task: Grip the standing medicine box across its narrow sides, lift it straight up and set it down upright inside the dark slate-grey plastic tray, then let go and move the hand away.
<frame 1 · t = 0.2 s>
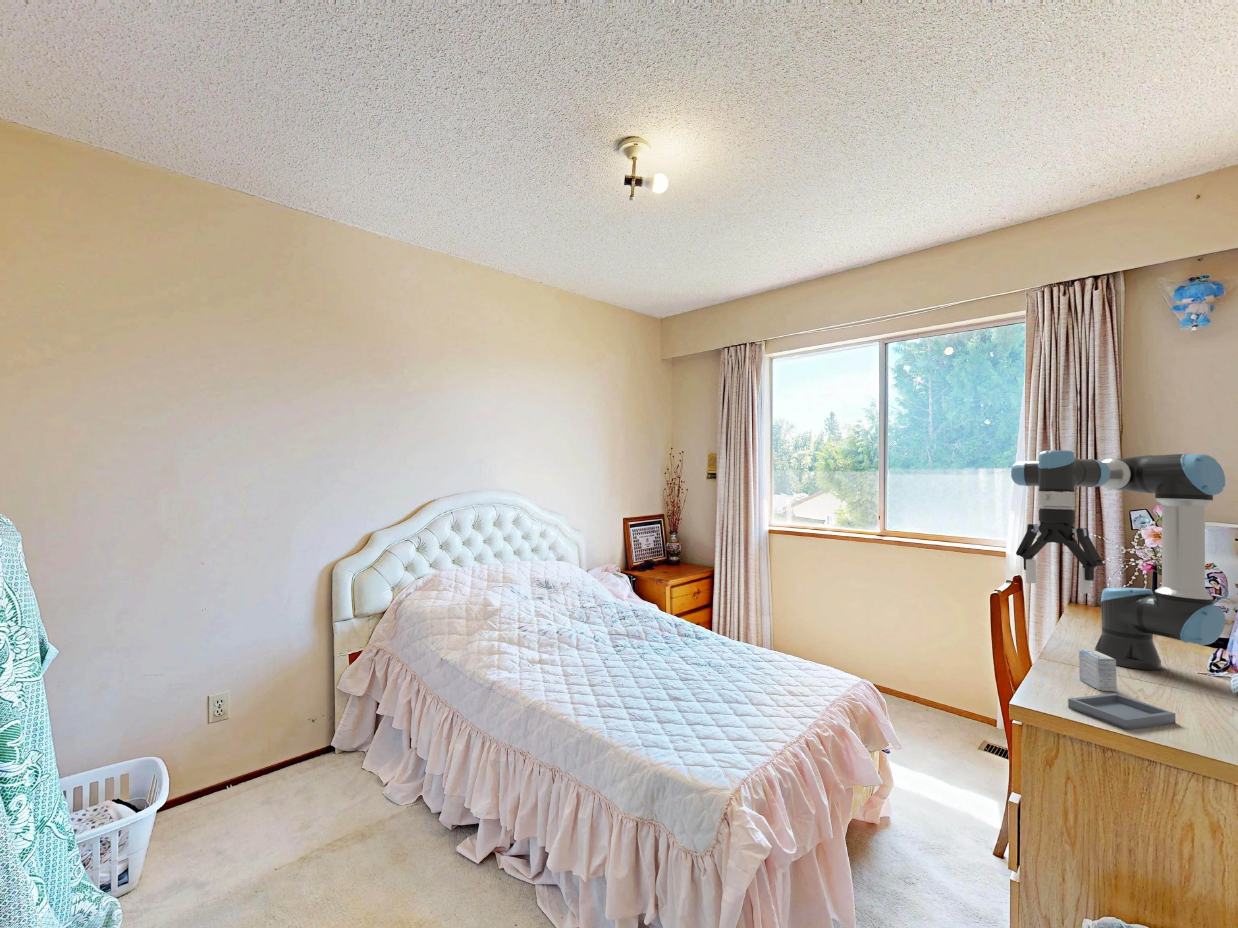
hand: (1056, 587, 142), 27 cm above the table, tool pointing down, fingers open, 13 cm apart
tray: (1120, 714, 126), on the table
medicine box: (1097, 686, 145), on the table
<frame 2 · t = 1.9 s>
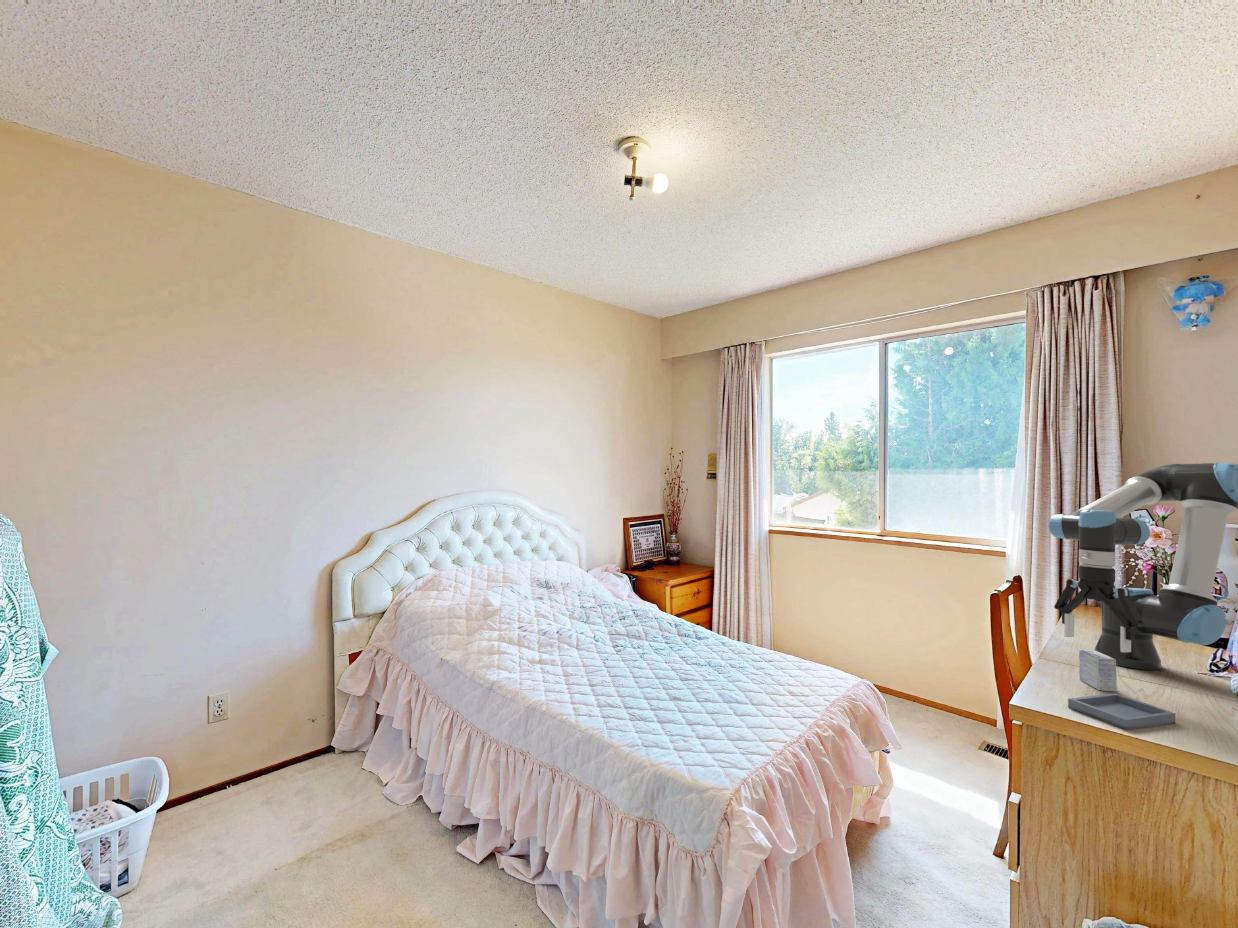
hand: (1096, 643, 145), 11 cm above the table, tool pointing down, fingers open, 13 cm apart
nothing on the table moved.
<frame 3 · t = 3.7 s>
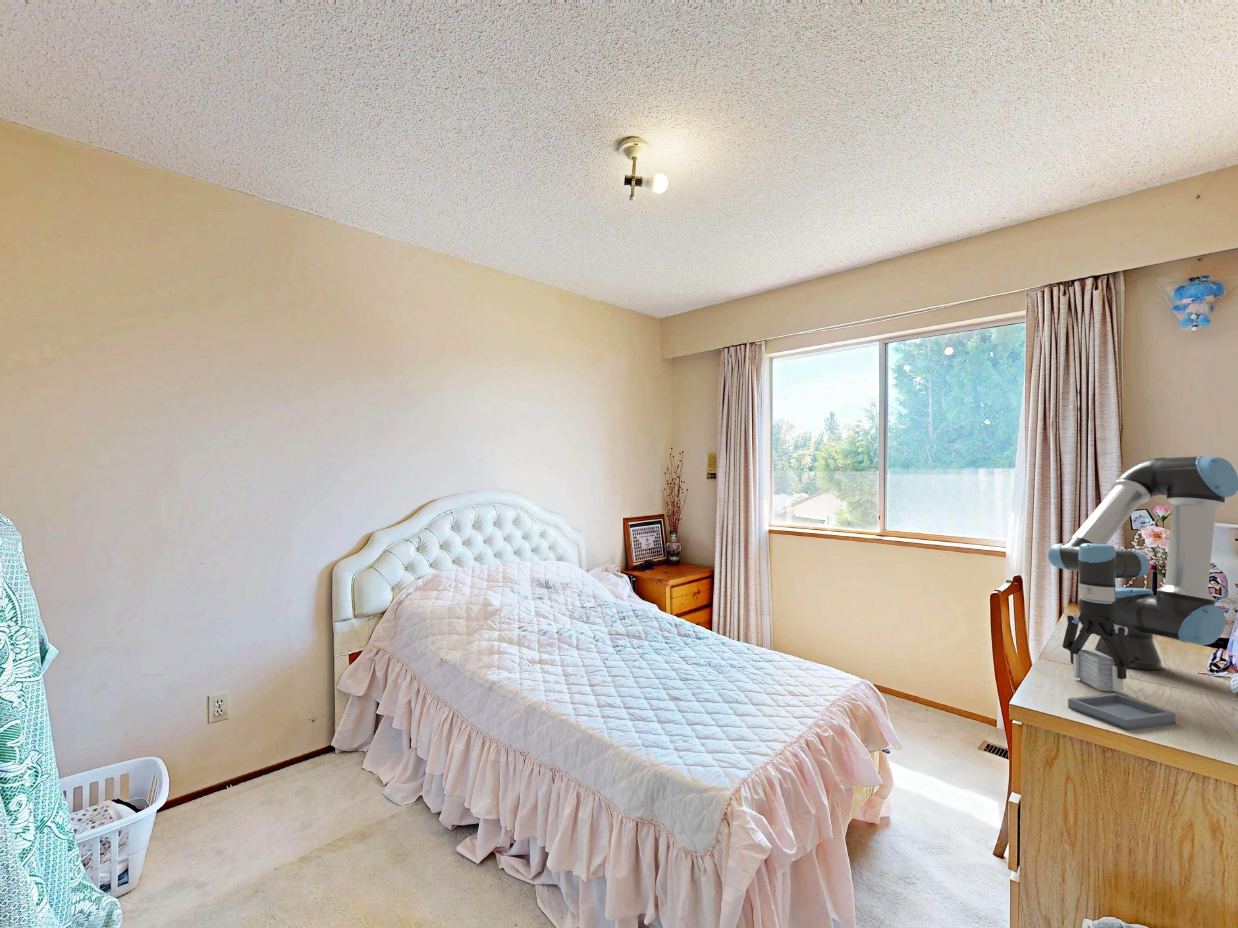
hand: (1097, 683, 145), 1 cm above the table, tool pointing down, fingers closed on medicine box, 9 cm apart
medicine box: (1097, 686, 145), on the table, touching gripper
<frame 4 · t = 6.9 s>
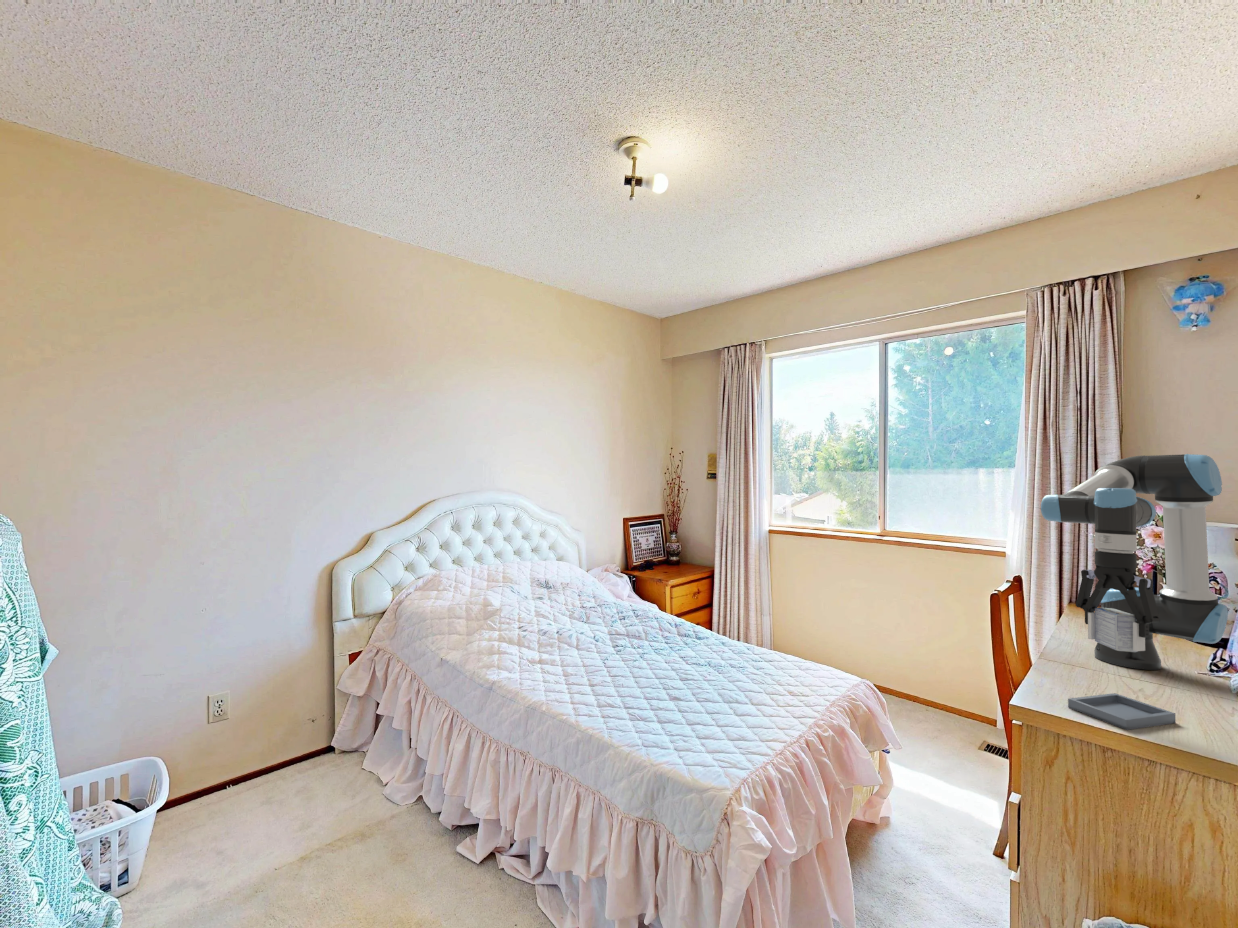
hand: (1115, 644, 129), 16 cm above the table, tool pointing down, fingers closed on medicine box, 9 cm apart
medicine box: (1115, 647, 129), point 15 cm above the table, touching gripper
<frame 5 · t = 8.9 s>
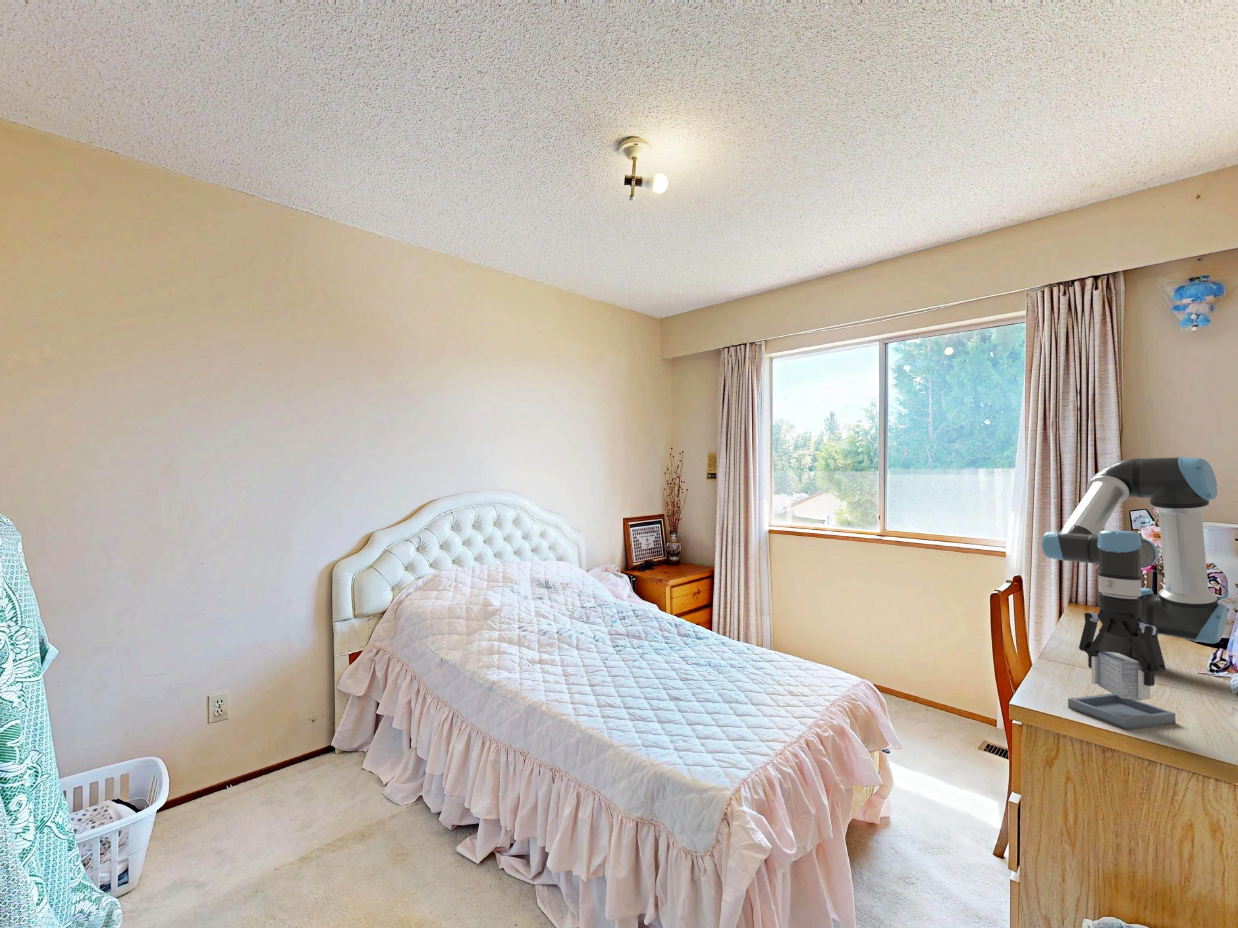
hand: (1120, 690, 126), 6 cm above the table, tool pointing down, fingers closed on medicine box, 9 cm apart
medicine box: (1119, 694, 126), point 5 cm above the table, touching gripper
when the fingers open (4 cm above the table, at t = 10.2 s): medicine box drops 3 cm, resting on tray.
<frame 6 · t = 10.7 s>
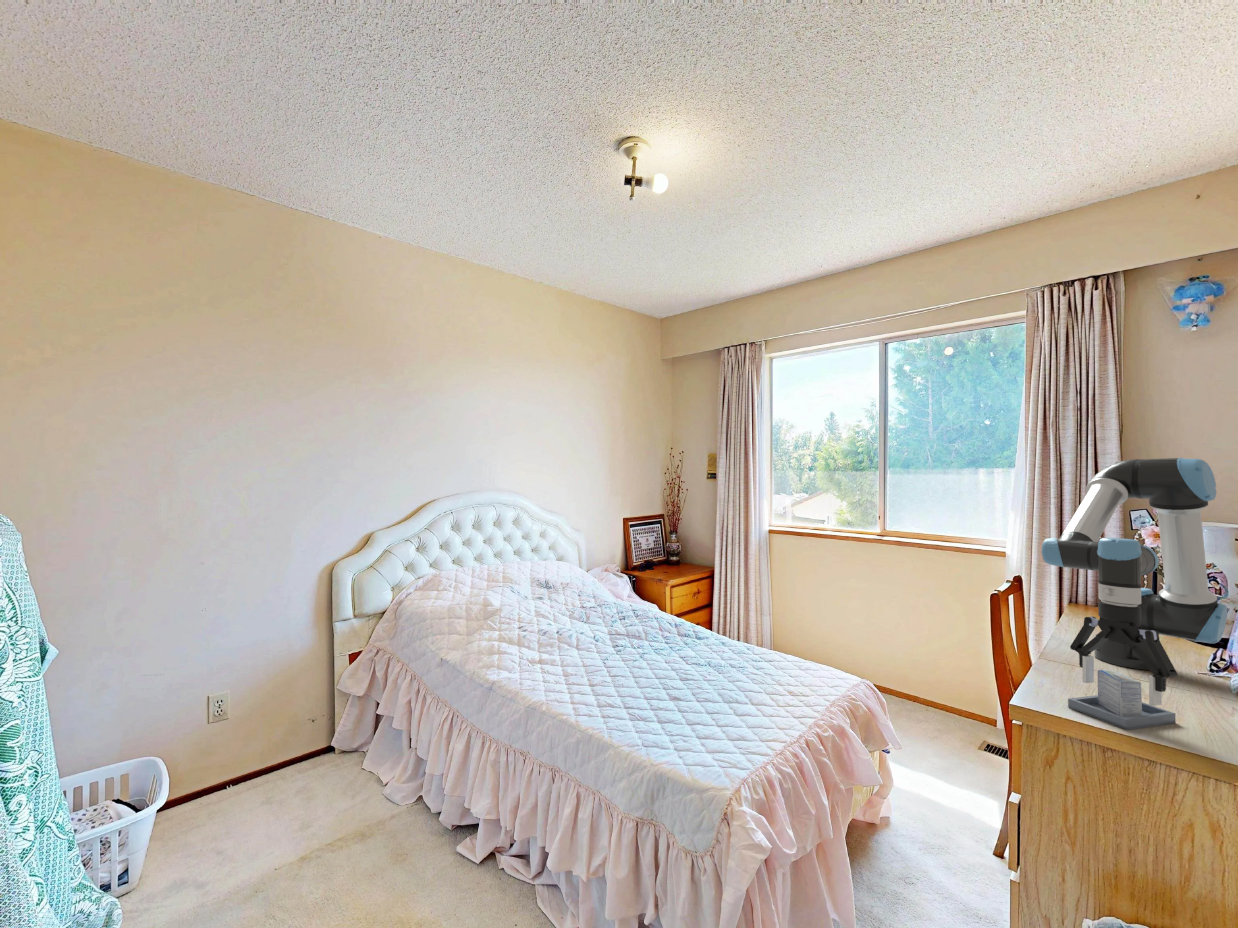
hand: (1120, 692, 126), 5 cm above the table, tool pointing down, fingers open, 13 cm apart
medicine box: (1119, 712, 127), resting on tray
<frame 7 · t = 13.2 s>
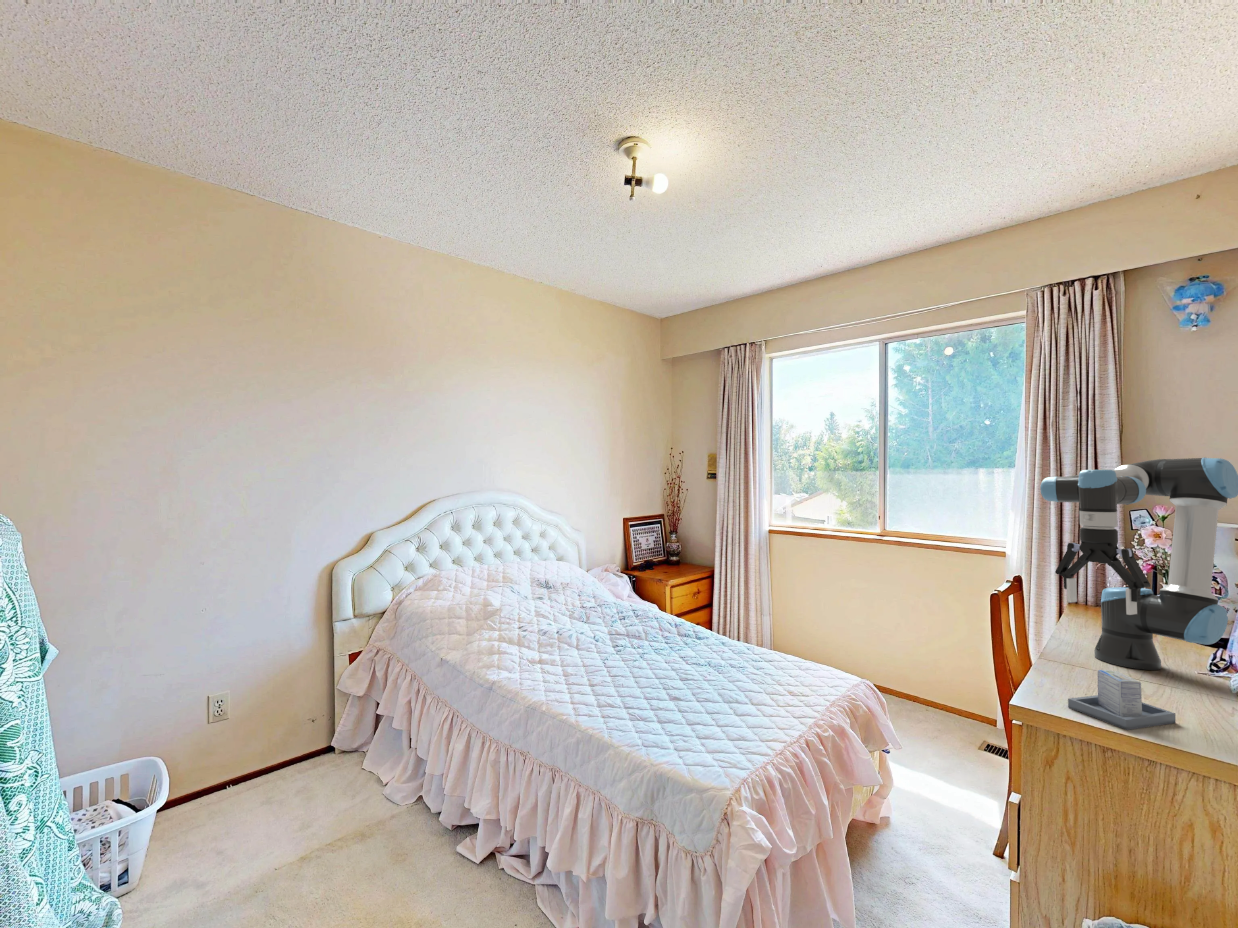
hand: (1100, 607, 141), 22 cm above the table, tool pointing down, fingers open, 13 cm apart
nothing on the table moved.
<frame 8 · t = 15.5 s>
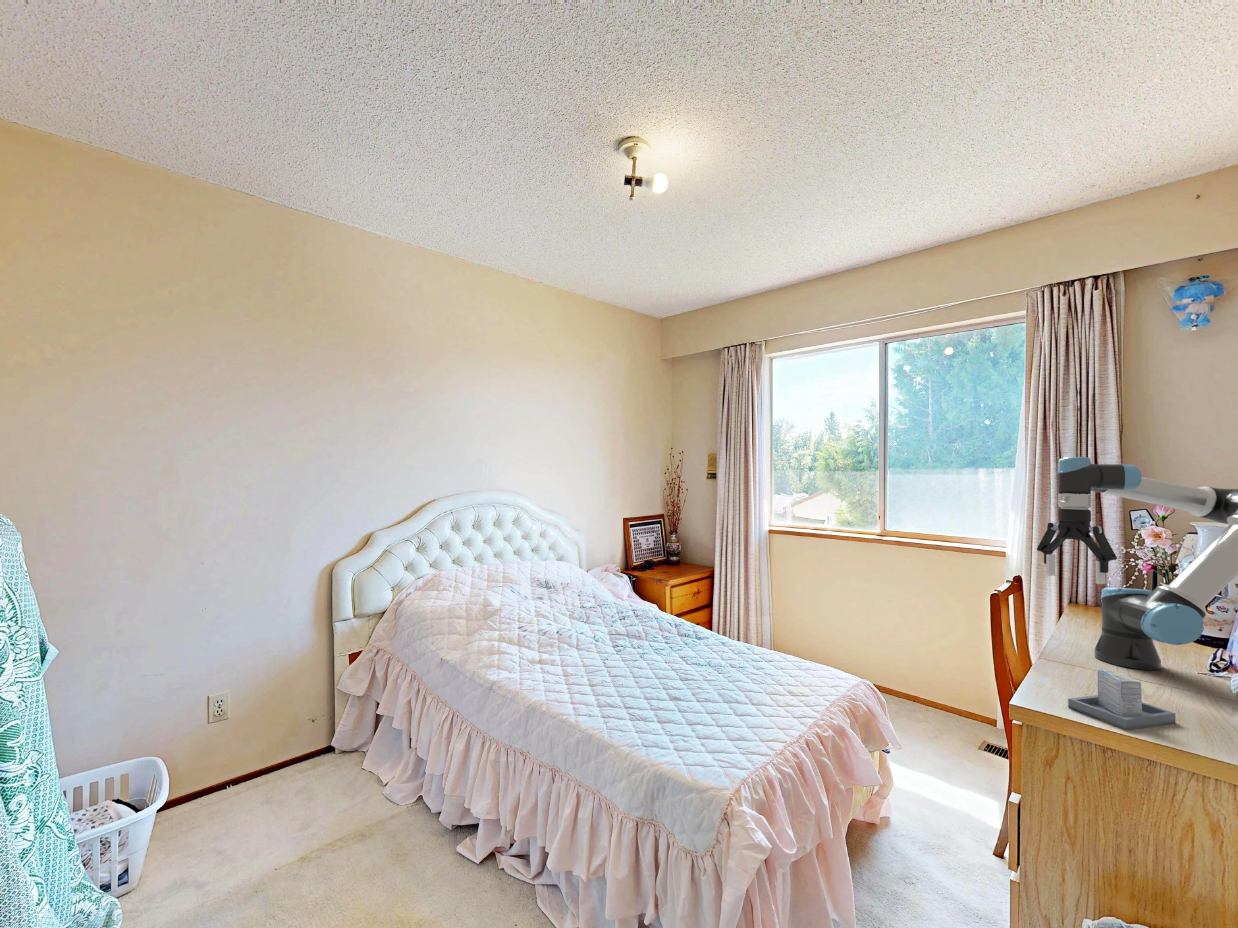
hand: (1074, 579, 159), 27 cm above the table, tool pointing down, fingers open, 13 cm apart
nothing on the table moved.
at the end: medicine box inside the target area on the tray (0.2 cm from its centre), point 0.4 cm above the tray's base; medicine box tilted 0°; the gripper is holding nothing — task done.
